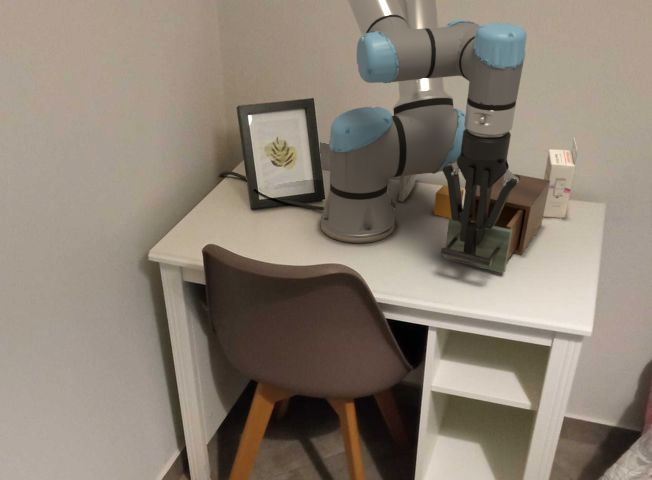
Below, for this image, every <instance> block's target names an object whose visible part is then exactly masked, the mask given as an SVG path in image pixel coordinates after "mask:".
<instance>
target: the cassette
mask: <svg viewBox="0 0 652 480" xmlns="http://www.w3.org/2000/svg"><path fill="white" fill-rule="evenodd" d="M399 178H400V179H399V191H398V192H399V193H398V202H402V203H403V202H404V200H407V198H408V197H409V195H410V193H411V191H412V190H413V189H414V186H415V182H416V175H408V176H399Z"/></svg>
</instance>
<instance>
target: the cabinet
mask: <svg viewBox="0 0 652 480" xmlns="http://www.w3.org/2000/svg"><path fill="white" fill-rule="evenodd" d="M512 174H513V175H519V176H520V181H519V182H518V183H517V184H516V186H515V187H514V188H513V189H512V190H511V192H510V194H509V196H508V198H507V201H506V203H505V205H504V206H509V207H514V208H519V209H524V210H526V212H525V218H524V223H523V228H522V234H521V239H520V243H519V244H518V246H517V247H516V249H515V250H514V252H513V253H512V254H515V255H519V256H523V254H524V252H526V249H527V248H528V247H529V245H530V244H531V242H532V241H533V240H534V238H535V237H536V235H537V234H538V232H539V231H540V229H541V228H542V223H543V219H544V217H543V214H544V209H545V204H546V200H547V195H548V190H549V184H550V181H549V180H544V178H538V177H533V176H528V175H521V174H518V173H512ZM503 180H504V177H503V176H502V177H501V178H500V179H499V180H498V181H496V182H495V183H494V184H493V187H492V191H491V197H490V203H496V201H497V199H498V196H499V194H500V192H501V190H502V189H503V187H504V186H503V183H502V182H503ZM479 197H480V186H479V185H477V190H476V197H475V199H476V200H479Z"/></svg>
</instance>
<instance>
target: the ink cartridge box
mask: <svg viewBox="0 0 652 480" xmlns="http://www.w3.org/2000/svg"><path fill="white" fill-rule="evenodd" d="M572 137H573V138H572V147H571V149H553V148H552V149H551V148H549V150H548V152H547V158H546V165H545V170H544V174H543V179H544V180H549V181H550V184H549V190H548V195H547V200H546V204H545V209H544V214H543V218H559V219H565V218H566V216H567V215H566V214H567V211H568V205H569V201H570V195H571V191H572V187H573V182H574V178H575V172H576V166H577V159H578V154H579V153H578V151H579V150H578V145H577V141H576V138H575V136H572Z"/></svg>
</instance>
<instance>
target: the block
mask: <svg viewBox="0 0 652 480" xmlns="http://www.w3.org/2000/svg"><path fill="white" fill-rule="evenodd" d="M460 189H461V198H462V200H464V192H465V191H464V190H465V188H461V187H460ZM434 197H435V198H434V208H433V215H435V216H440V217H444V218H448V219H450V218H451V217H452V216H451V208H450V200H449V191H448V185H445V184H443V185H442V186H441V187H439V189H438V190H437V191H436V192H435V196H434Z"/></svg>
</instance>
